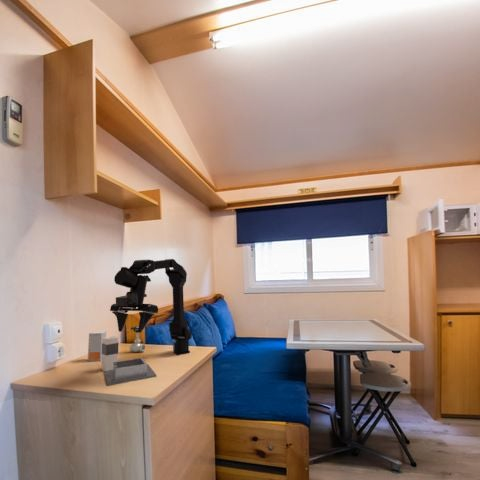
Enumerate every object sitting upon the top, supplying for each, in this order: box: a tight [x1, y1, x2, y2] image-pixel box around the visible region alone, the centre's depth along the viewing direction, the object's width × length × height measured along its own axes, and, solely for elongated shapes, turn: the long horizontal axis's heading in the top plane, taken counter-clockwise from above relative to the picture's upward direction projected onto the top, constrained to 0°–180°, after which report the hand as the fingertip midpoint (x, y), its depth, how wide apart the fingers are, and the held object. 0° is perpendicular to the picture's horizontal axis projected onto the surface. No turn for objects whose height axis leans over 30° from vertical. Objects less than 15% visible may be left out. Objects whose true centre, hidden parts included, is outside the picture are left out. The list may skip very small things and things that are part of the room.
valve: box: [129, 325, 146, 353], centre depth 140 cm, size 7×7×12 cm
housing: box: [104, 357, 157, 386], centre depth 105 cm, size 16×16×4 cm
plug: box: [101, 335, 119, 372], centre depth 113 cm, size 5×5×12 cm
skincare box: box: [87, 331, 107, 362], centre depth 128 cm, size 6×4×12 cm
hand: (129, 332), depth 106 cm, fingers open, 9 cm apart
